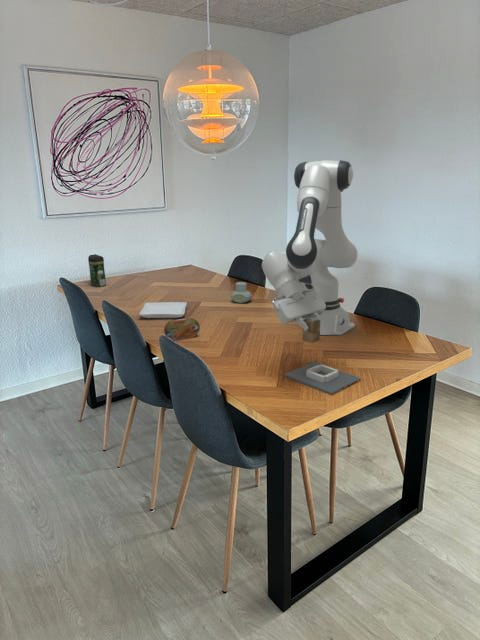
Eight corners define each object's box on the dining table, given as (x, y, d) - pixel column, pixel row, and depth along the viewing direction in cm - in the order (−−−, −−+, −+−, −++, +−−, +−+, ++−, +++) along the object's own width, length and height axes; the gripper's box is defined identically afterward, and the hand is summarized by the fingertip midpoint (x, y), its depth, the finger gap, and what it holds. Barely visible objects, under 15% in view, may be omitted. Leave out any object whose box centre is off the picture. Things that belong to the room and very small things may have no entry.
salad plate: (187, 307, 253) (187, 301, 252) (184, 320, 233) (184, 313, 232) (145, 308, 253) (145, 302, 252) (139, 321, 232) (138, 314, 231)
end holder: (314, 363, 181) (314, 356, 180) (360, 380, 167) (361, 372, 166) (284, 376, 170) (284, 368, 170) (331, 395, 156) (331, 387, 155)
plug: (310, 337, 170) (311, 314, 167) (319, 340, 167) (320, 317, 164) (302, 340, 167) (303, 317, 165) (311, 343, 164) (312, 320, 162)
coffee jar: (89, 285, 301) (85, 254, 295) (101, 283, 306) (98, 253, 300) (95, 288, 294) (92, 256, 288) (108, 285, 299) (105, 255, 293)
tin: (166, 342, 204) (164, 322, 202) (163, 340, 207) (162, 320, 204) (200, 336, 210) (199, 317, 208) (197, 334, 213) (196, 315, 210)
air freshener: (229, 303, 259) (228, 284, 256) (233, 299, 266) (232, 280, 263) (249, 304, 256) (249, 285, 253) (253, 300, 264) (253, 281, 261)
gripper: (275, 294, 160) (297, 329, 156) (316, 283, 173) (337, 316, 169) (265, 304, 165) (286, 339, 161) (306, 293, 178) (326, 325, 174)
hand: (313, 327), depth 165 cm, fingers closed on plug, 4 cm apart
